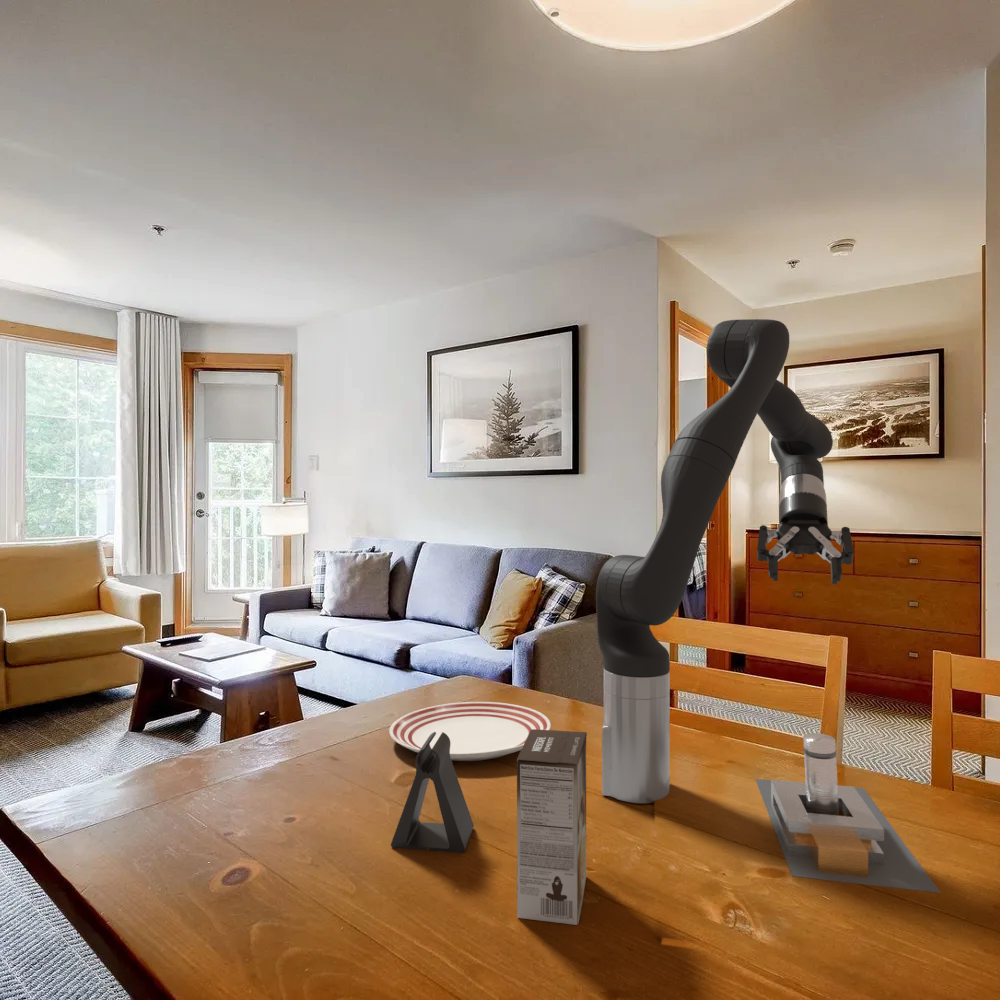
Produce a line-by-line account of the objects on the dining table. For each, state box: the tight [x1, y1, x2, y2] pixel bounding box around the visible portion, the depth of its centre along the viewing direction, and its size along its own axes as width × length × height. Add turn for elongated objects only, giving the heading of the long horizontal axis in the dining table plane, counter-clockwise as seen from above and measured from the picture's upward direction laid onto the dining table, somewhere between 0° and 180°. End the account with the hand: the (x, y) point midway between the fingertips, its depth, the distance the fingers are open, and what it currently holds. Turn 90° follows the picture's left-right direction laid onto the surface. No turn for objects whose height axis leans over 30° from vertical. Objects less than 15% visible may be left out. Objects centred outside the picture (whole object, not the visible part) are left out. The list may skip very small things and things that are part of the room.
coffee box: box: [516, 729, 588, 926], centre depth 71 cm, size 9×6×16 cm
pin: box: [802, 732, 839, 816], centre depth 82 cm, size 4×4×12 cm
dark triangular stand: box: [390, 732, 475, 854], centre depth 83 cm, size 9×6×12 cm, turn 82°
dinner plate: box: [388, 701, 552, 762], centre depth 116 cm, size 28×27×3 cm
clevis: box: [770, 779, 884, 877], centre depth 81 cm, size 10×14×4 cm
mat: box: [755, 778, 941, 894], centre depth 85 cm, size 14×26×1 cm, turn 168°
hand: (804, 579), depth 107 cm, fingers open, 8 cm apart
